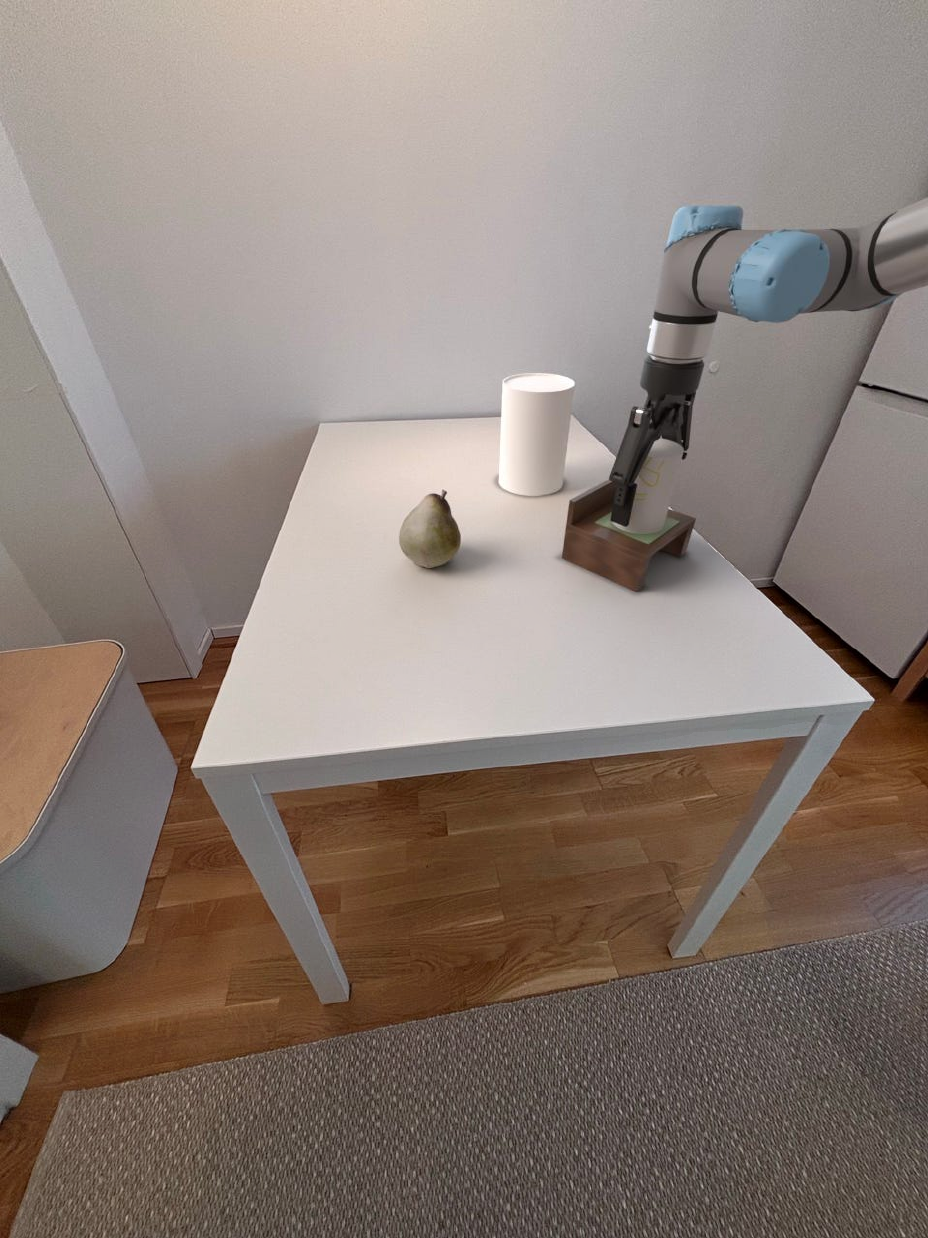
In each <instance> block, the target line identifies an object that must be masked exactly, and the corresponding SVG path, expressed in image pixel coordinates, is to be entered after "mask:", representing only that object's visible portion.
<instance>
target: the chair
mask: <svg viewBox="0 0 928 1238" xmlns="http://www.w3.org/2000/svg"><path fill="white" fill-rule="evenodd" d="M616 487H617V483H615V482H613V481H610V480H609V478H608V479H606V480H604V481H602V482H601V483H599V484H597V485H595V486H594V487H591V488H589V489H588V490H586V491H584V492H581V493H580V494H579V495H576V496H575V497H572V498H571V499H569V500H568V509H567V515H566V523H565V529H564V537H563V538H564V539H563V545H562V554H561V559H563V560H565V561H567V562H569V563H572V564H574V565H576V566H578V567H580V568H583V569H585V570H587V571H589V572H592V573H593V574H595V575H598V576H601V577H602V578H604V579H606V580H609V581H611V582H613V583H615V584H617V585H619V586H622V587H623V588H626V589H628V590H631V591H633V592H635V593H637V592H639V591H640V590H641V589H642V588H643V587H644V585H645V580H646V576H647V573H648V569H649V566H650V561H651V558H652V556H654V555H655V554H656V553H657V552H659V551H663V552H665V553H668V554H670V555H674V556H676V557H678V558H681V557H682V556H684V555H685V554H686V553H687V549H688V546H689V543H690V540H691V537H692V534H693V530H694V527H695V524H696V520H697V518H696V517H693V516H691V515H688V514H685V513H682V512H679V511H676V510H673V509H670V508H669V509H668V512H667V516H666V520H665V524H664V527H663V529H662V530H660V531H659V532H656V533H652V534H635V533H630V532H626V531H623V530H621V529H619V528H617V527H616V526H615V525H614V524H613V523H612V521H610V519H611V514H612V508H613V503H614V498H615V493H616Z"/></svg>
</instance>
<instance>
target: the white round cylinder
mask: <svg viewBox="0 0 928 1238" xmlns="http://www.w3.org/2000/svg"><path fill="white" fill-rule="evenodd" d="M683 452H685V451H684V449H683V447H682V446H681V445H679V444H678V443H676V442H673V441H670V440H666V439H662V437H660V439H659V440H657V441H655V442H654V444H653V446H652V448H651V450H650V452H649V454H648V456H647V458H646V460H645V462H644V464H643V466H642V468H641V470H640V472H639V474H638V476H637V478H636V480H635V482H634V483H636V484H637V489H636V493H635V498H634V502H633V507H632V512H631V516H630V521H629V525H628V526H627V527H625V526H622V525H620V524H617V523H614V522H612V523H613V524H614V525H615V526H616V527H617V528H619V529H621V530H623V531H626V532H630V533H635V534H652V533H656V532H659V531H660V530H662V529H663V527H664V524H665V520H666V516H667V512H668V509H670V505H671V500H672V497H673V493H674V490H675V485H676V481H677V478H678V474H679V470H680V466H681V462H682V455H683Z"/></svg>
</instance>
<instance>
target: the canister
mask: <svg viewBox="0 0 928 1238" xmlns="http://www.w3.org/2000/svg"><path fill="white" fill-rule="evenodd" d="M575 384H576V383H575V381H574V380H573V379H572V378H570V377H567V376H564V375H560V374H556V373H555V374H554V373H545V372H524V373H517V374H512V375H509V376H507V377H504V378H503V379H502V386H501V387H502V388H501V389H502V391H501V412H500V413H501V416H500V417H501V418H500V438H499V439H500V442H499V444H500V446H499V465H498V467H499V468H498V485H499V486H500V487H501V488H502V489H503V490H505V491H507V492H509V493H512V494H515V495H519V496H525V497H526V496H527V497H542V496H548V495H551V494H554V493H556V492H559V491H560V490H561V489H562V487H563V484H564V476H565V468H566V459H567V451H568V444H569V434H570V427H571V417H572V409H573V401H574V393H575V386H576V385H575Z"/></svg>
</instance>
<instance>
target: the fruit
mask: <svg viewBox="0 0 928 1238" xmlns="http://www.w3.org/2000/svg"><path fill="white" fill-rule="evenodd" d="M447 494H448V492H447V490H445V489H442V490H441V495H440V494H438V493H435V492H433V493H429V494H427V495H425V496H424V498H423V499H422V500H421V501H420V503H419V504H417V506H416V507H414V508H413V509H412V510H411V511H410V512H409V514H408V515H407V516H406V517H405V519H404V520H403V522H402V525H401V526H400V529H399V534H398V537H399V538H398V543H399V547H400V549H401V552H402V553H403V555H404V556H405V557H406V558H408V559H409V560H410V561H411V562H412V563H414V564H415V565H418V566H420V567H423V568H426V569H432V568H436V567H439V566H442V565H444V564H445V565H446V563H448V562H450V560H452V559H453V558H454V557H455V556H456V554H457V553H458V551H459V549H460V548H461V542H462V541H461V540H462V536H461V534H462V533H461V531H460V528H459V525H458V523H457V521H456V520H455V518H454V517H453V514H452V510H451V505H450V503H449V502H448V500H447V499H446V496H447Z"/></svg>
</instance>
